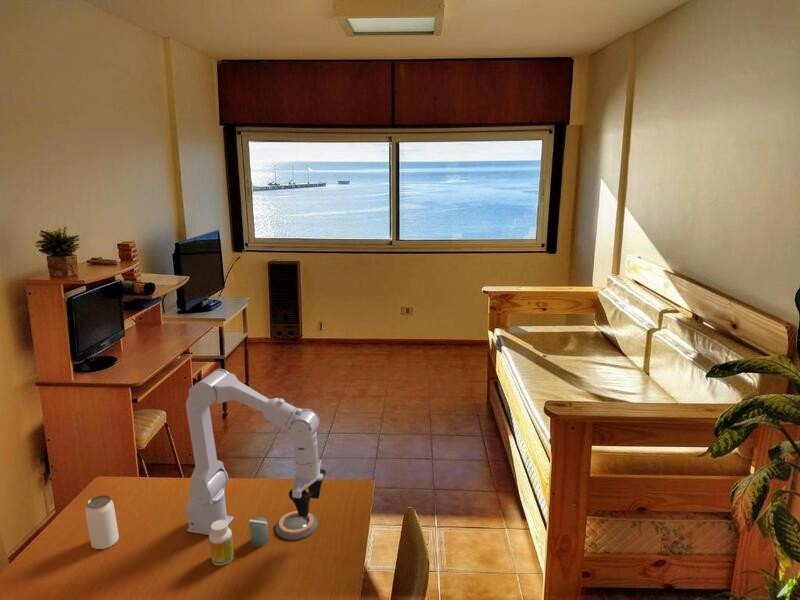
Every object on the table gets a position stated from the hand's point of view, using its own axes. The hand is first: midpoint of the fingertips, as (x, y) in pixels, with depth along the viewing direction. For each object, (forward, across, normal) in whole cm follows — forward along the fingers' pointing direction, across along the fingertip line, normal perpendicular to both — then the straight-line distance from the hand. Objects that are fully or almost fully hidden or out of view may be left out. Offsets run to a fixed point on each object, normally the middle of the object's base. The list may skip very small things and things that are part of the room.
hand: (309, 506), depth 146 cm
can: (+10, -12, +52) cm, 54 cm away
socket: (+10, +4, +6) cm, 13 cm away
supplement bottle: (+10, -11, +19) cm, 24 cm away
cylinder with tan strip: (+10, -3, +13) cm, 17 cm away
